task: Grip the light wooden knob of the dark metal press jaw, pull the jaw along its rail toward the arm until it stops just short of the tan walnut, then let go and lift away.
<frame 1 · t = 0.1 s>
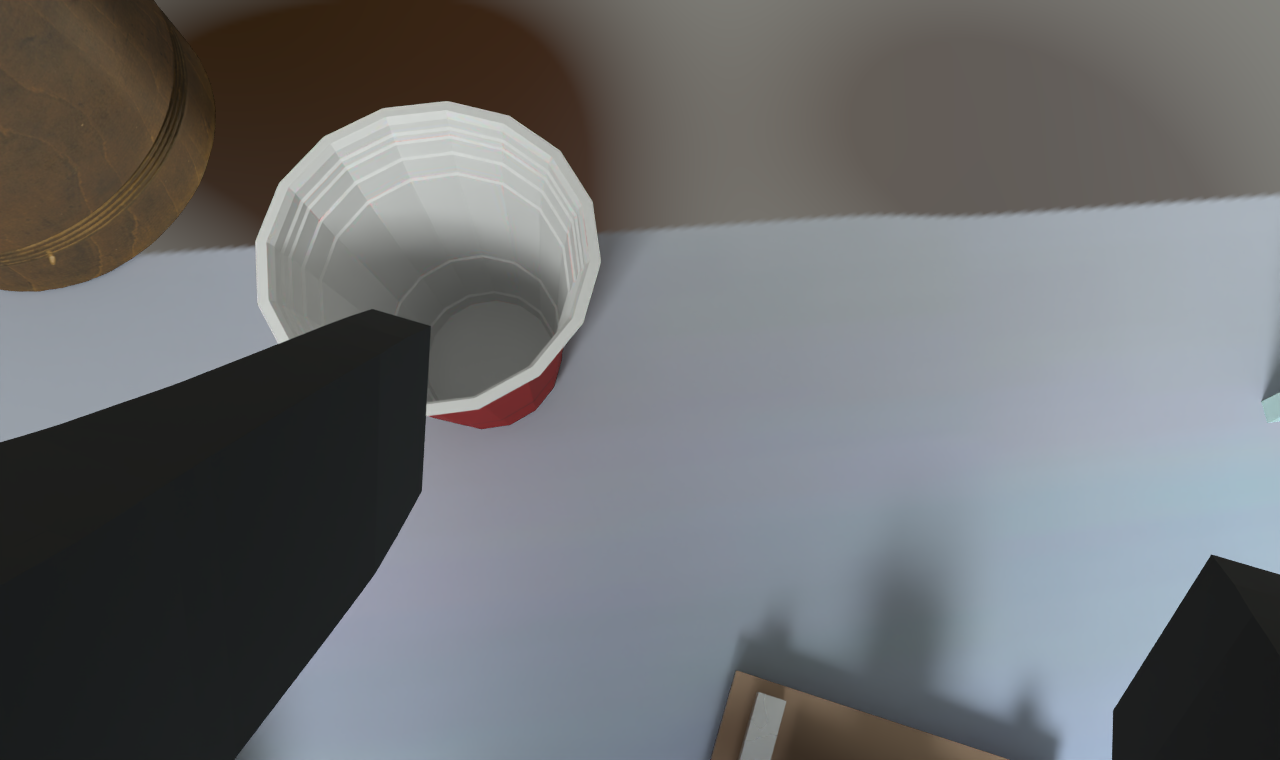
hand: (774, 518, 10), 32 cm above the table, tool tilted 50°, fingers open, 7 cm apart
wooden container: (61, 145, 48), on the table
plastic cup: (497, 362, 44), on the table
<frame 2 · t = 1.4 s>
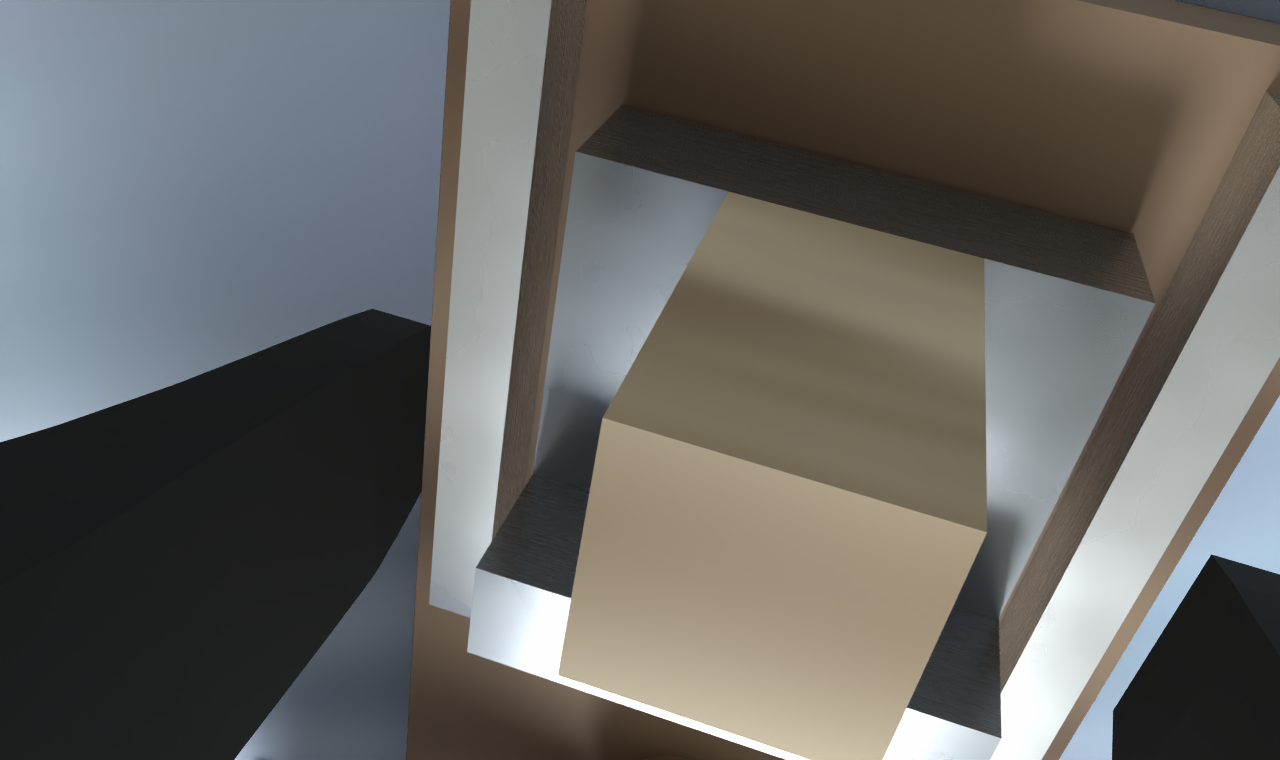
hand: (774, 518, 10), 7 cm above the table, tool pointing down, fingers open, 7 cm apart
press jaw: (767, 518, 13), point 5 cm above the table, slide at 0.0 cm
press base: (750, 560, 20), on the table
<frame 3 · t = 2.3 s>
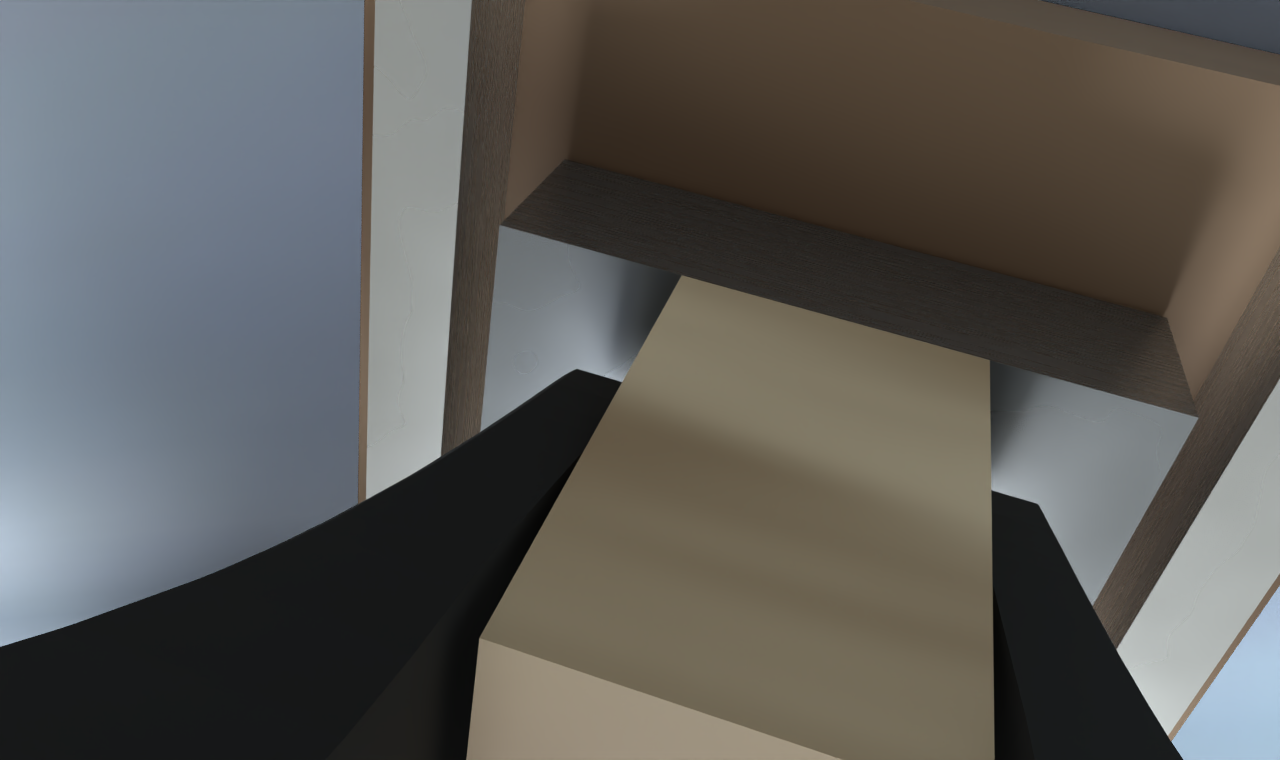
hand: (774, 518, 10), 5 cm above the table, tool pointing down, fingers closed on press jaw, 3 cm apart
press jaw: (730, 663, 11), point 5 cm above the table, slide at 0.0 cm, touching gripper
press base: (726, 650, 18), on the table
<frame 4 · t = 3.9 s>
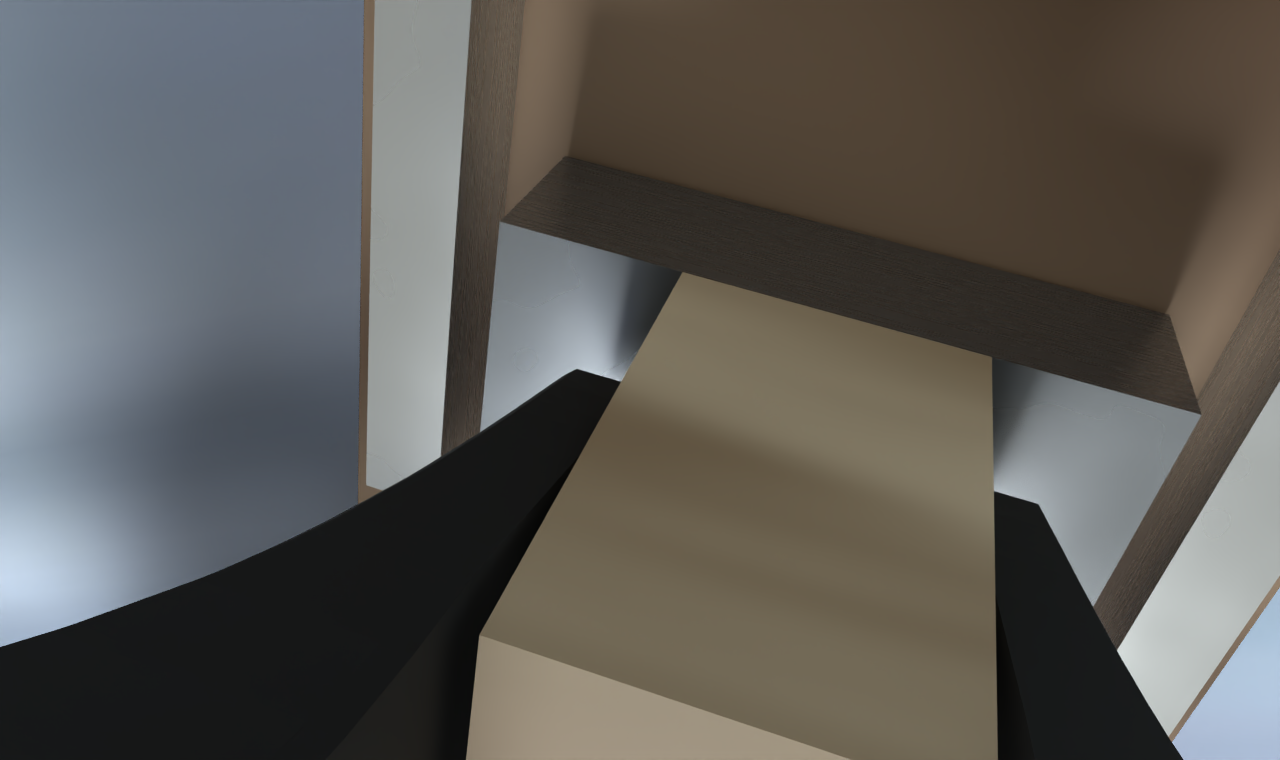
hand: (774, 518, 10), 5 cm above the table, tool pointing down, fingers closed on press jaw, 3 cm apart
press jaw: (731, 661, 11), point 5 cm above the table, slide at 4.5 cm, touching gripper
press base: (790, 439, 15), on the table
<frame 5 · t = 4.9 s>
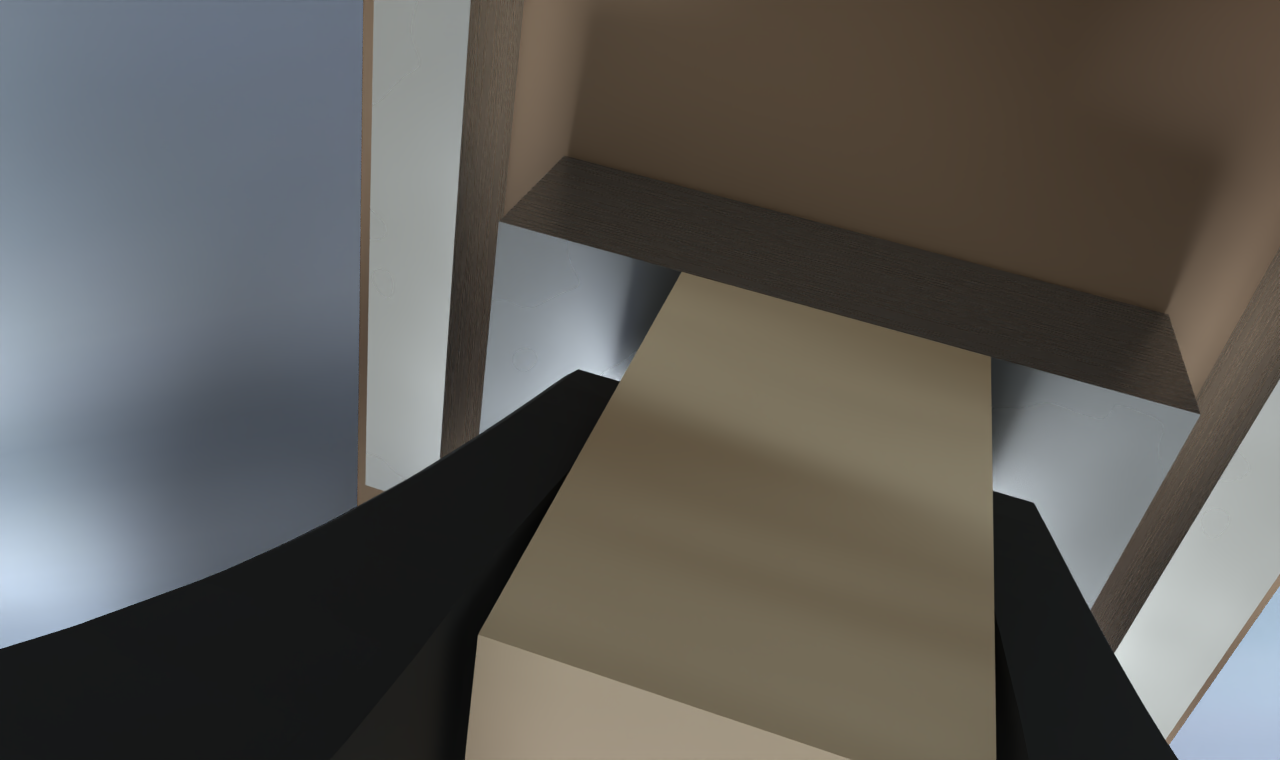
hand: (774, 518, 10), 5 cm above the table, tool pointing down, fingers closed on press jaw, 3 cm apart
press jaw: (730, 661, 11), point 5 cm above the table, slide at 4.5 cm, touching gripper
press base: (789, 439, 15), on the table
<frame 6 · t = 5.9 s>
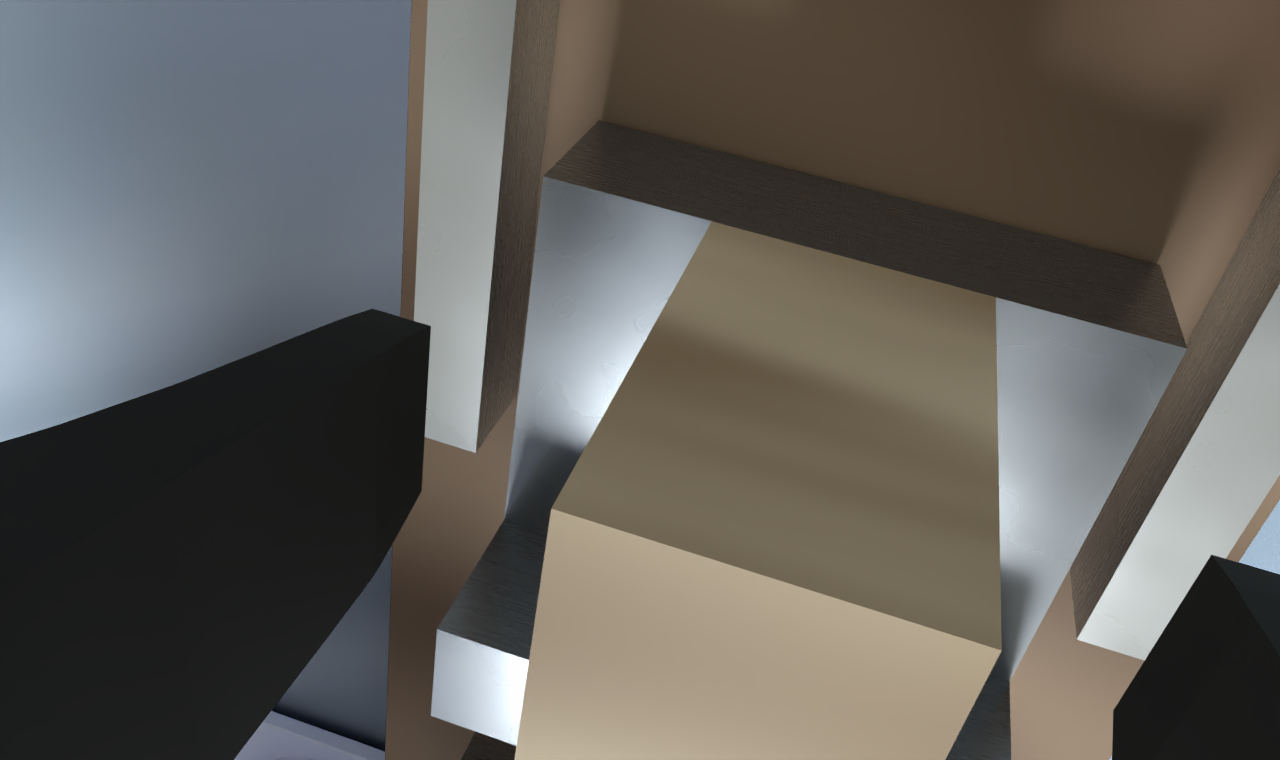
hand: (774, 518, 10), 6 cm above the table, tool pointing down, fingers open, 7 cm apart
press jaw: (755, 581, 11), point 5 cm above the table, slide at 4.5 cm
press base: (805, 394, 16), on the table
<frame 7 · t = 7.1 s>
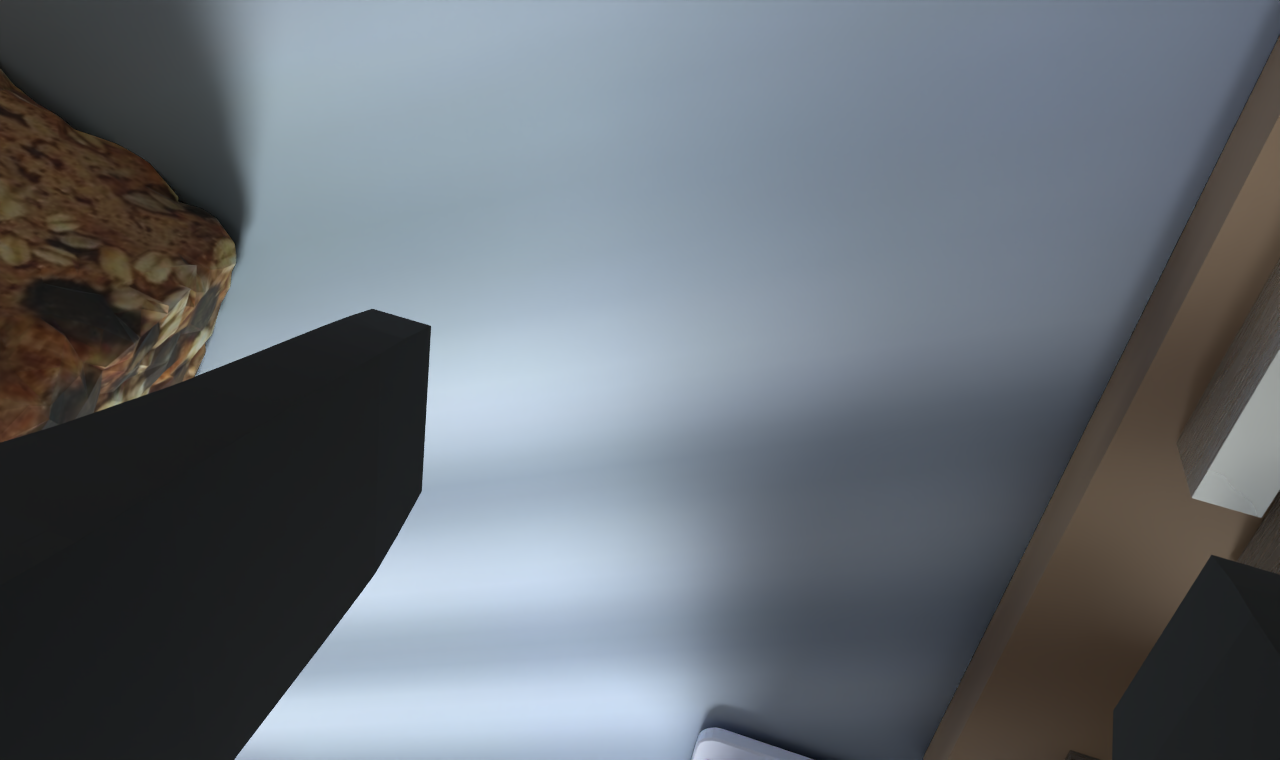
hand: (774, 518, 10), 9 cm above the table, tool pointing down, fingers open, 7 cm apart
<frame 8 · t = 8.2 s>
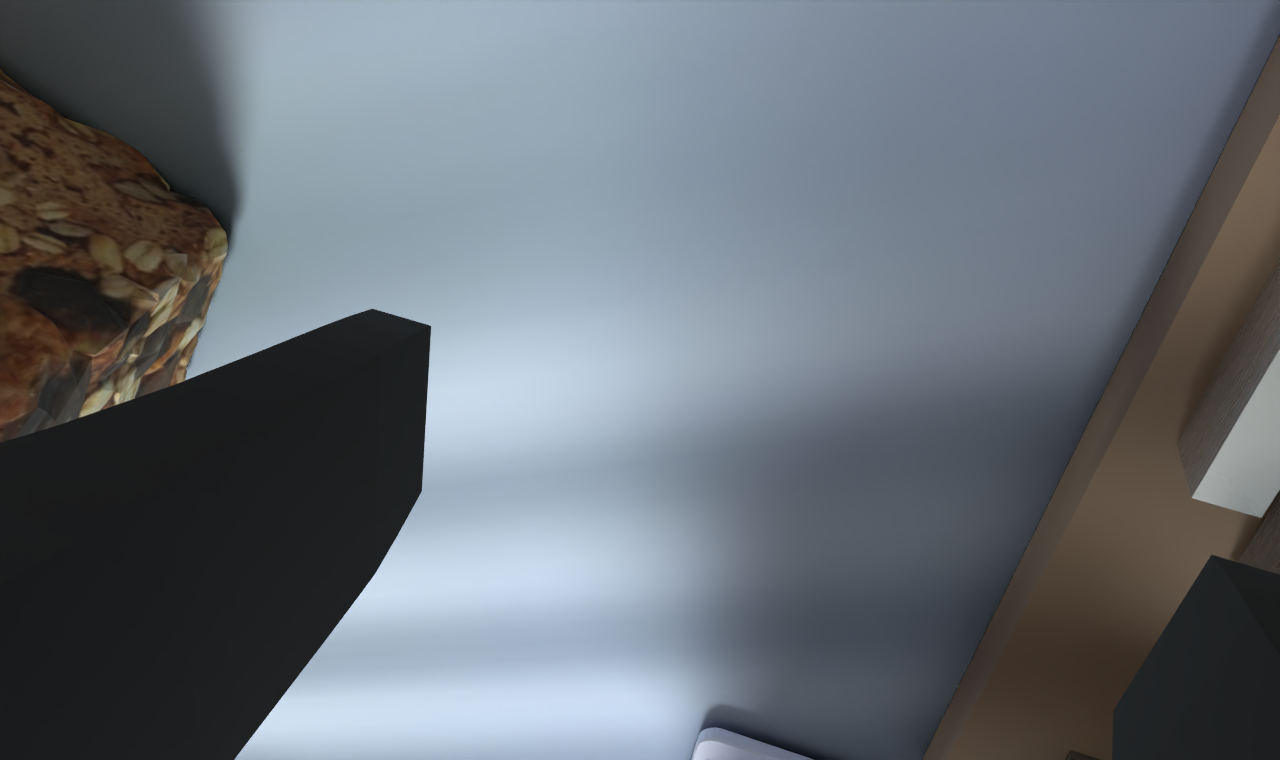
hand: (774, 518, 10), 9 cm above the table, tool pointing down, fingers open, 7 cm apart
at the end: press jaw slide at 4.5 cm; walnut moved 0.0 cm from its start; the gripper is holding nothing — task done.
